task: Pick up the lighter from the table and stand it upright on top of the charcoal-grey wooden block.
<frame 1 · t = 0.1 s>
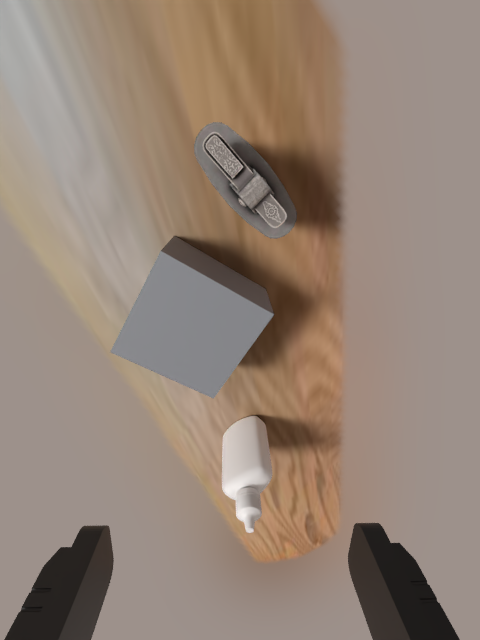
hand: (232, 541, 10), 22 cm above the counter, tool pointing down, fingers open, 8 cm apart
lighter: (243, 182, 26), on the counter
eye dropper bottle: (243, 427, 38), on the counter
pedestal block: (197, 305, 30), on the counter
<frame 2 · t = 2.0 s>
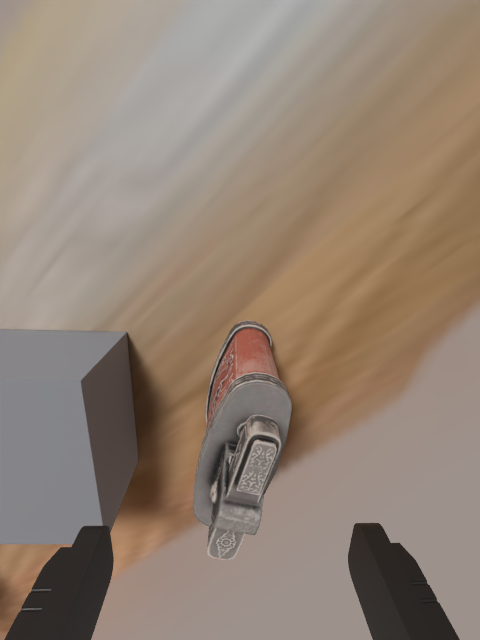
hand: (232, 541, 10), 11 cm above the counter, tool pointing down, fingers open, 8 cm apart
lighter: (237, 374, 20), on the counter
pedestal block: (58, 399, 20), on the counter
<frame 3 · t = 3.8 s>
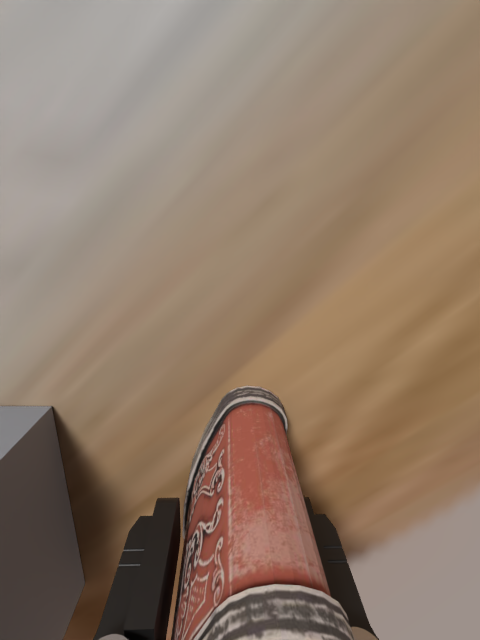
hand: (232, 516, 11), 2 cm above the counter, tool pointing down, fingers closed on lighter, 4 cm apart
lighter: (231, 463, 13), on the counter, touching gripper
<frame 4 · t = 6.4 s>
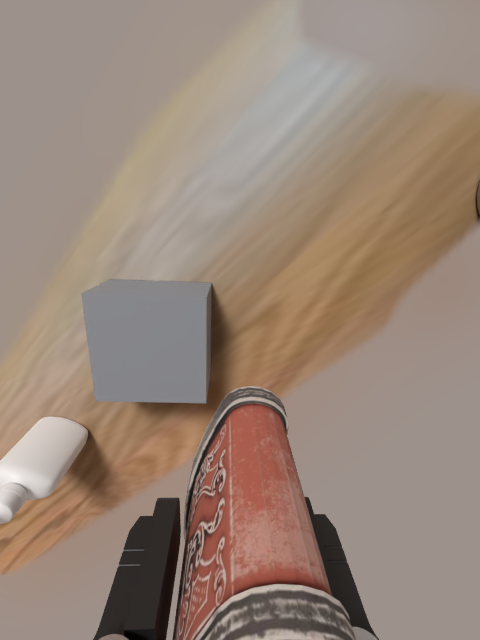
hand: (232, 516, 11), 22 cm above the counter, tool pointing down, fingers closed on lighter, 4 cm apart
lighter: (232, 463, 13), point 19 cm above the counter, touching gripper
eye dropper bottle: (66, 428, 35), on the counter
pedestal block: (163, 328, 31), on the counter
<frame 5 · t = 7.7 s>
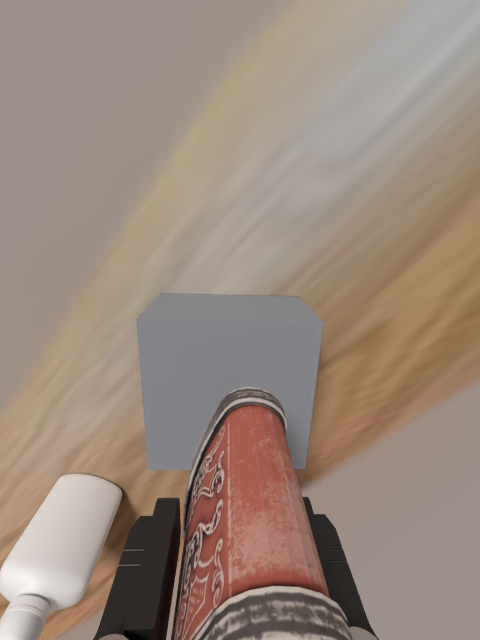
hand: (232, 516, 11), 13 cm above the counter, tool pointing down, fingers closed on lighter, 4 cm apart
lighter: (231, 464, 13), point 11 cm above the counter, touching gripper
eye dropper bottle: (92, 487, 27), on the counter
pedestal block: (229, 357, 23), on the counter
when the fingers open (10 cm above the counter, at t = 8.8 s): lighter drops 1 cm, resting on pedestal block.
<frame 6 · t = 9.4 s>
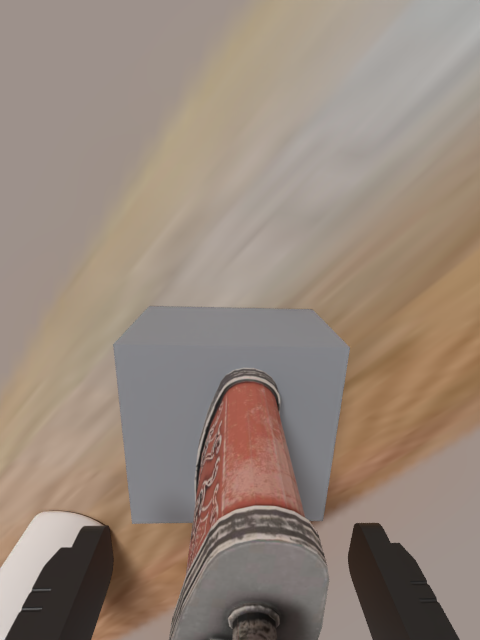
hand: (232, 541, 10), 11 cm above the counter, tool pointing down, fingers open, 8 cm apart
lighter: (235, 440, 14), point 6 cm above the counter, touching pedestal block
eye dropper bottle: (73, 525, 24), on the counter
pedestal block: (230, 380, 20), on the counter
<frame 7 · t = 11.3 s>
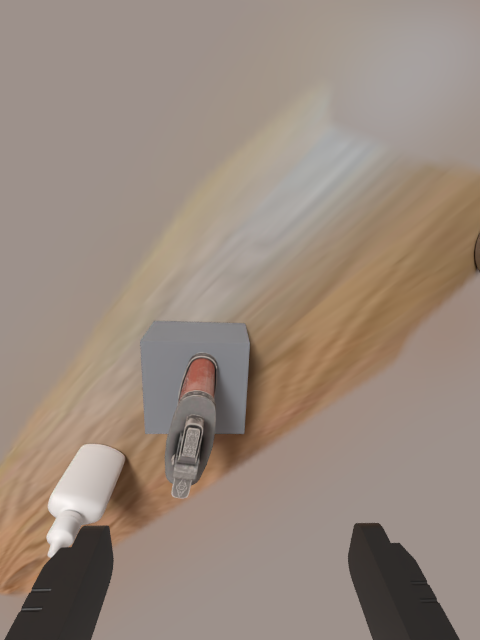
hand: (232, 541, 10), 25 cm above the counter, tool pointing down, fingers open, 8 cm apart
lighter: (197, 389, 29), point 6 cm above the counter, touching pedestal block
eye dropper bottle: (103, 454, 38), on the counter
pedestal block: (199, 363, 35), on the counter
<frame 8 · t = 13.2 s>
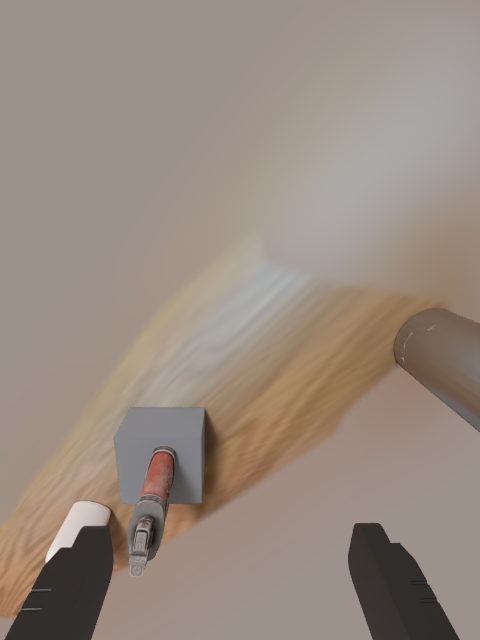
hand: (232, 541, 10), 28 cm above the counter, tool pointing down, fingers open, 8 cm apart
lighter: (161, 470, 36), point 6 cm above the counter, touching pedestal block
eye dropper bottle: (93, 508, 46), on the counter
pedestal block: (169, 438, 42), on the counter
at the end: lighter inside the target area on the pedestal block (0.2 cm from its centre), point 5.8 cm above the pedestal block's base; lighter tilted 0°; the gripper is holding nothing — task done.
